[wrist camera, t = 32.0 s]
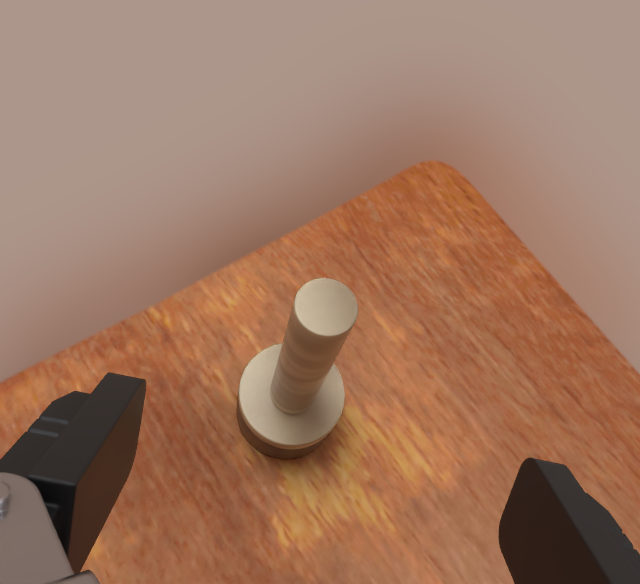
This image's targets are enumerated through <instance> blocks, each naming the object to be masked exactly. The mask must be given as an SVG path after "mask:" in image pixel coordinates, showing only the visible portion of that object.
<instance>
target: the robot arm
mask: <svg viewBox="0 0 640 584" xmlns="http://www.w3.org/2000/svg"><path fill="white" fill-rule="evenodd" d="M145 392H146V380H144V379H139V378H135V377H130V376H125V375H120V374H115V373H107V374H106V375H105V377H104V378H103V379H102V380H101V382H100V383H99V384H98V385H97V387H96V388H95V389H94V391H93V392H92V393H91V394H88V393H83V392H78V391H74V392H71V393H69V394H67V395H65V396H63V397H61V398H59V399H57V400H55V401H53V402H52V403H51V404H50V405H49V406H48V407H47V408H46V410H45V411H44V412H43V413H42V414H41V415H40V417H39V419H37V420H36V421H35V422H34V423H33V424H32V425H31V426H30V427H29V429H28V432H25V433H24V434H23V435H22V436H21V437H20V439H19V440H18V441H17V442H16V443H15V444H14V445H13V446H12V447H11V449H10V450H9V451H8V452H7V453H6V454H5V455H4V456H3V458H2V459H1V460H0V584H100V583H99V581H98V579H97V577H96V576H95V575H94V573H93V572H92V571H90V570H86V571H83V572H80V571H81V569H82V567H83V565H84V563H85V561H86V559H87V557H88V555H89V553H90V551H91V549H92V547H93V545H94V543H95V541H96V539H97V537H98V535H99V533H100V531H101V529H102V528H103V526H104V524H105V522H106V520H107V518H108V516H109V514H110V512H111V510H112V508H113V506H114V504H115V502H116V500H117V498H118V496H119V494H120V492H121V490H122V488H123V486H124V484H125V482H126V480H127V478H128V476H129V474H130V471H131V468H132V465H133V462H134V458H135V454H136V449H137V444H138V437H139V431H140V424H141V418H142V412H143V405H144V399H145ZM499 545H500V549H501V552H502V554H503V556H504V559H505V561H506V564H507V566H508V568H509V571H510V573H511V576H512V578H513V580H514V583H515V584H640V554H639V553H638V552H637V550H634V549H633V545H632V543H631V542H630V541H629V539H628V538H627V536H626V535H625V534H623V533H622V529H621V528H620V527H619V525H618V524H617V523H616V521H615V520H614V518H613V517H612V516H611V514H610V513H609V511H607V510H606V509H605V508H604V507H603V506H602V505H600V504H599V503H598V502H597V501H596V500H595V499H593V498H592V497H591V496H590V495H589V494H588V493H585V492H584V490H583V489H582V487H581V486H580V485H579V483H578V482H577V480H576V479H575V477H574V476H573V475H572V473H571V472H570V470H569V469H568V468H567V466H565V465H563V464H558V463H553V462H548V461H544V460H539V459H534V458H527V459H526V460H525V461H524V462H523V463H522V465H521V467H520V469H519V472H518V474H517V477H516V480H515V482H514V485H513V488H512V490H511V493H510V496H509V498H508V501H507V504H506V506H505V509H504V512H503V514H502V517H501V520H500V525H499Z"/></svg>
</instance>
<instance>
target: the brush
mask: <svg viewBox="0 0 640 584" xmlns="http://www.w3.org/2000/svg"><path fill="white" fill-rule="evenodd" d="M357 315H358V305H357V301H356V298H355V296H354V294H353V293H352V292H351V290H350V289H349V288H348V287H347V286H345V285H344V284H343V283H341V282H339V281H337V280H334V279H329V278H318V279H314V280H311V281H309V282H307V283H306V284H304V285H303V286H302V287H301V288H300V289H299V291H298V292H297V294H296V297H295V300H294V304H293V307H292V311H291V314H290V318H289V322H288V325H287V329H286V332H285V336H284V340H283V343H280V344H276V345H273V346H270V347H268V348H266V349H264V350H262V351H261V352H259V353H258V354H257V355H256V356H254V358H253V359H252V360H251V361H250V362H249V363H248V365H247V366H246V368H245V370H244V372H243V374H242V377H241V380H240V385H239V392H238V400H237V419H238V424H239V427H240V429H241V431H242V433H243V435H244V437H245V438H246V439H247V441H248V442H249V443H250V444H251V445H252V446H253V447H254V448H255V449H257V450H258V451H260V452H261V453H263V454H265V455H268V456H270V457H274V458H279V459H293V458H298V457H301V456H304V455H307V454H308V453H310V452H312V451H313V450H315V449H316V448H317V447H318V446H319V445H320V444H321V443H322V442H323V441H324V440H325V438H326V437H327V436H328V434H329V433H330V431H331V430H332V429H333V427H334V426H335V424H336V423H337V421H338V420H339V418H340V416H341V413H342V410H343V406H344V400H345V391H344V384H343V381H342V378H341V375H340V373H339V371H338V369H337V368H336V366H335V365H334V364H333V363H334V361H335V359H336V357H337V356H338V354H339V352H340V350H341V348H342V346H343V344H344V342H345V340H346V338H347V336H348V335H349V333H350V331H351V329H352V327H353V325H354V323H355V321H356V319H357Z"/></svg>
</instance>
